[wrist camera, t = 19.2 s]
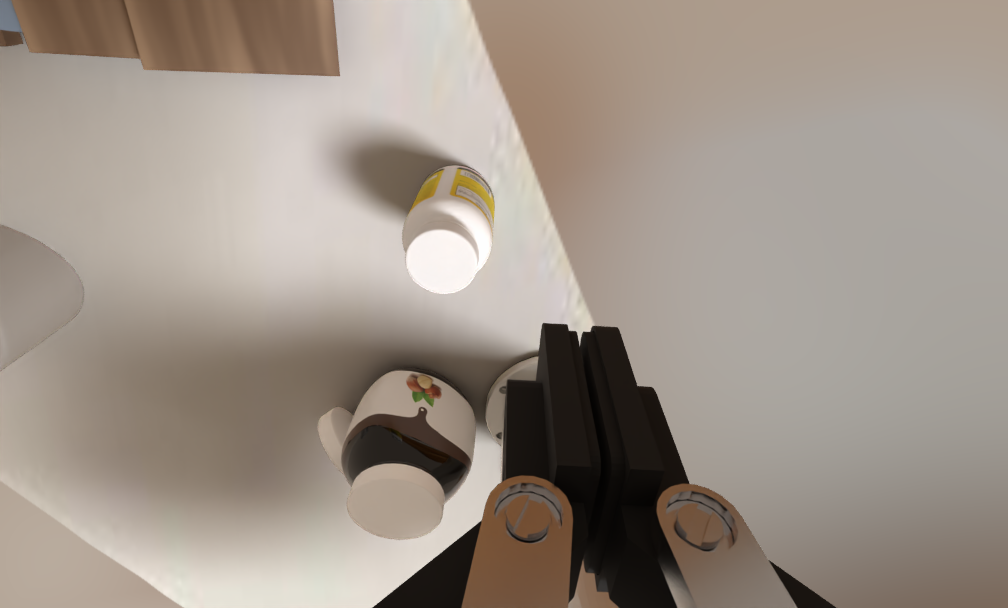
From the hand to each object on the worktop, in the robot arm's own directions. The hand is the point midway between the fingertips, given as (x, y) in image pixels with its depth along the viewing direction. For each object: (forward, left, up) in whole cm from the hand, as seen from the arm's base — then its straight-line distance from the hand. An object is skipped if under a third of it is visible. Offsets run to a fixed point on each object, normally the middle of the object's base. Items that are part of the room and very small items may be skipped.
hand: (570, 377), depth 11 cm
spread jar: (-25, +10, -25) cm, 37 cm away
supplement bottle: (-5, +5, -25) cm, 26 cm away
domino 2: (+6, +12, -24) cm, 28 cm away
